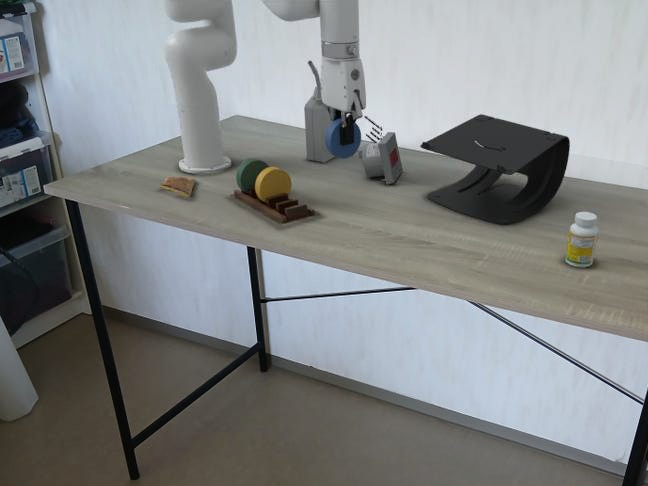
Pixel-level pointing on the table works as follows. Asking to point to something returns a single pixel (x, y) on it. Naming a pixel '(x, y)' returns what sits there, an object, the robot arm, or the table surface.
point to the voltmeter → (381, 156)
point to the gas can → (316, 124)
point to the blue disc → (334, 140)
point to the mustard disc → (272, 183)
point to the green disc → (249, 173)
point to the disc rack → (276, 206)
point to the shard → (179, 185)
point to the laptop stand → (501, 168)
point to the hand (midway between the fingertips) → (343, 142)
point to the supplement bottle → (582, 240)
